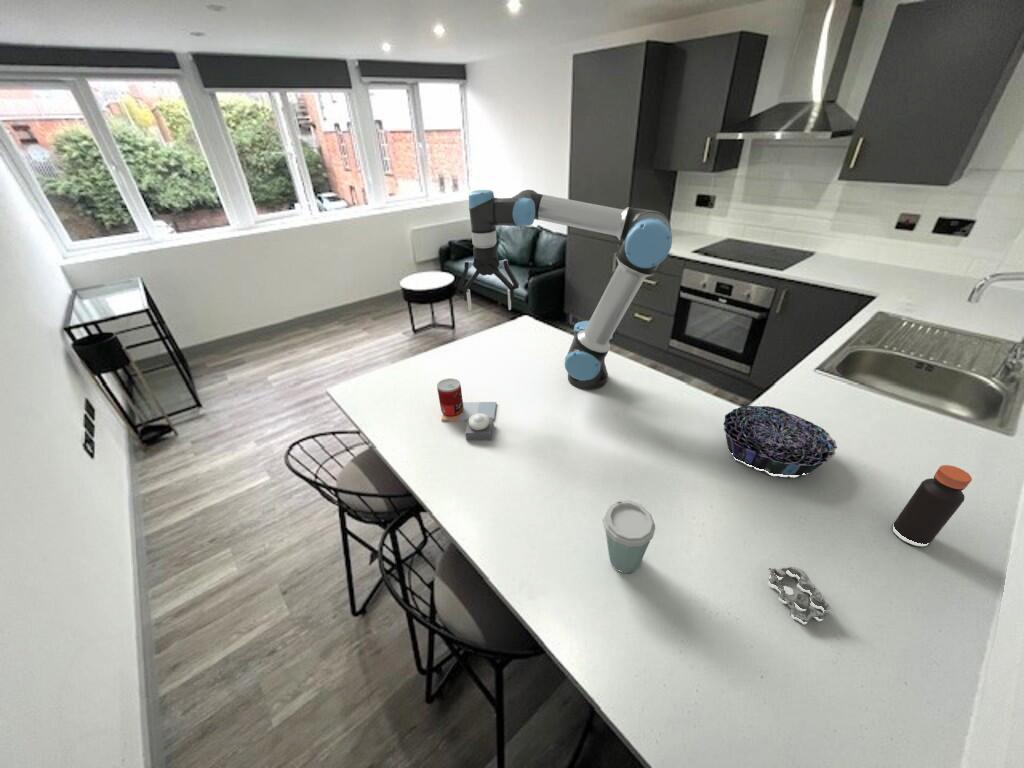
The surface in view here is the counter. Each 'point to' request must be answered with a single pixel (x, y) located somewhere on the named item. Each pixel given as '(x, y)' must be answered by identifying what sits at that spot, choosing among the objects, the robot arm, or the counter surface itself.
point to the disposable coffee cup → (627, 534)
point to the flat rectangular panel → (473, 411)
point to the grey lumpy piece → (801, 599)
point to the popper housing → (480, 432)
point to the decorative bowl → (777, 440)
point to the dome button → (479, 421)
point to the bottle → (933, 504)
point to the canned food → (450, 397)
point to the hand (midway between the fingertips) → (489, 308)
